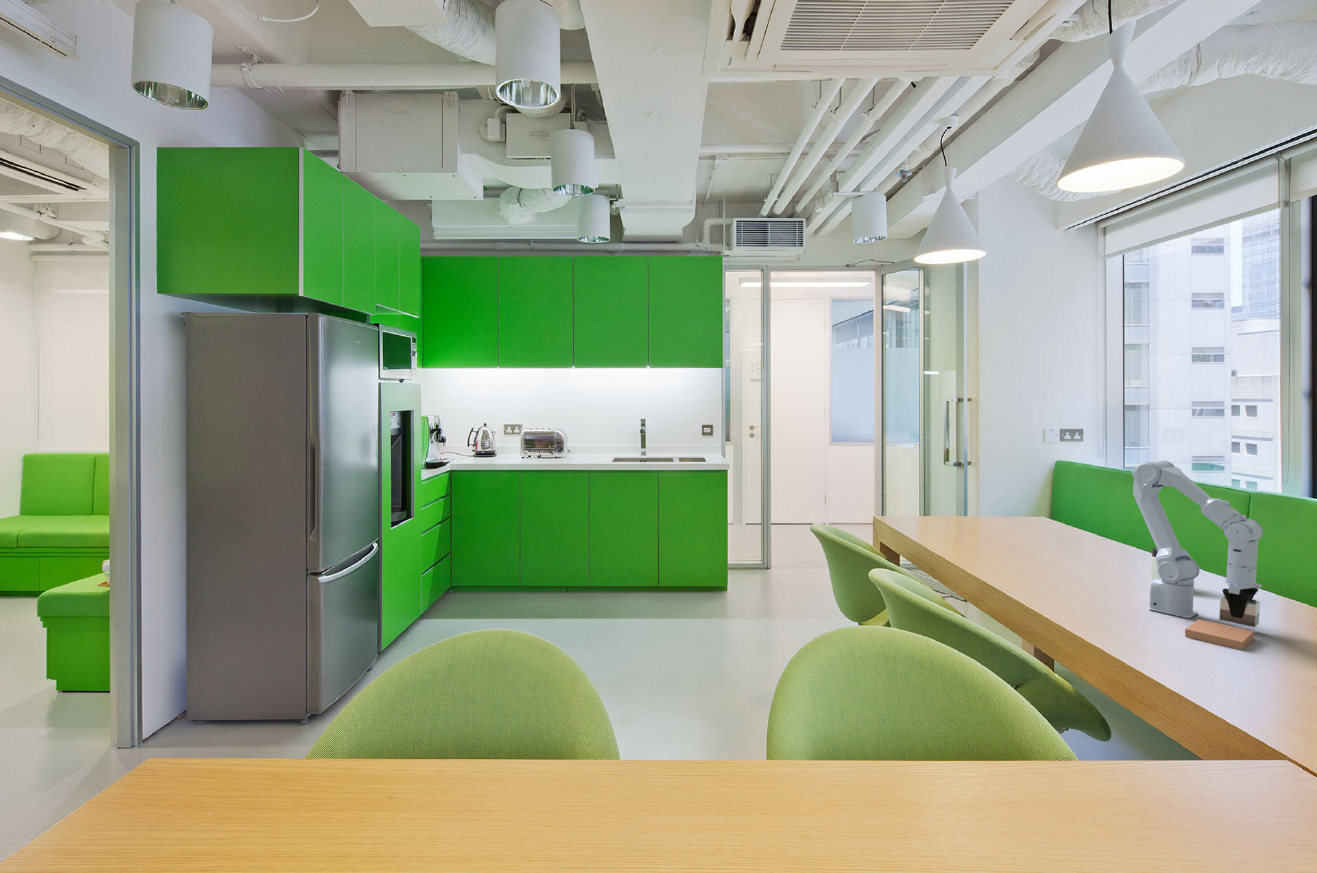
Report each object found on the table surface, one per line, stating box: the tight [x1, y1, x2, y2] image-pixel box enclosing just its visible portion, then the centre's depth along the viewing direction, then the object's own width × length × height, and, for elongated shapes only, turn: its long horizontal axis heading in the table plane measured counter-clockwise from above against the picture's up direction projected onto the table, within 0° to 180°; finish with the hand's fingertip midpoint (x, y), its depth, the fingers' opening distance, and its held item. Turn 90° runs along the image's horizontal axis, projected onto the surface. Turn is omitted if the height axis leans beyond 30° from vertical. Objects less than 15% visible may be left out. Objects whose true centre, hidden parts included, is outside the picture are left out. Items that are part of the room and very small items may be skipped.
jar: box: [1149, 546, 1161, 585], centre depth 204 cm, size 9×8×12 cm
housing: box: [1218, 594, 1261, 628], centre depth 166 cm, size 7×4×6 cm, turn 36°
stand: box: [1184, 618, 1255, 651], centre depth 160 cm, size 11×12×2 cm
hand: (1239, 615), depth 166 cm, fingers closed on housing, 4 cm apart
